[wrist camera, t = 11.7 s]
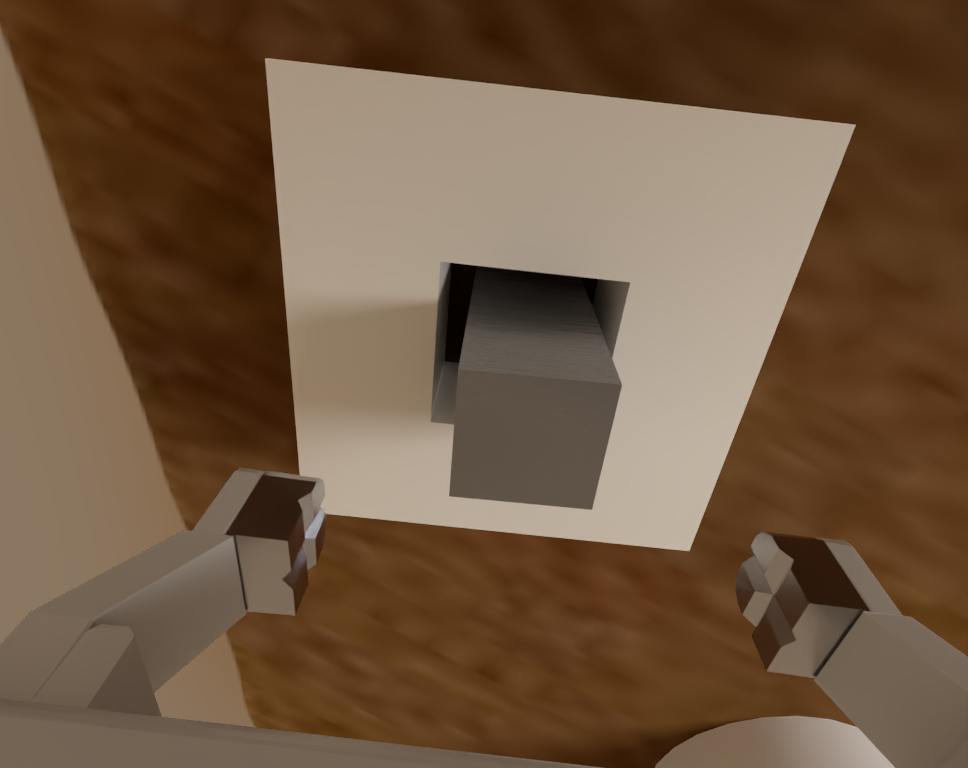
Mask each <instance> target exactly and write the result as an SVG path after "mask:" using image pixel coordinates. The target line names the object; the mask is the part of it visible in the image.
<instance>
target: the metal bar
mask: <svg viewBox="0 0 968 768" xmlns="http://www.w3.org/2000/svg"><path fill="white" fill-rule="evenodd" d="M621 388H622V383H621V380H620V378H619V375H618V373H617V370H616V367H615V365H614V362H613V359H612V357H611V354H610V352H609V349H608V346H607V344H606V341H605V338H604V336H603V333H602V331H601V328H600V325H599V323H598V320H597V317H596V315H595V312H594V309H593V307H592V304H591V302H590V299H589V296H588V294H587V291H586V288H585V286H584V283H583V281H582V278H581V277H576V276H567V275H558V274H549V273H539V272H530V271H521V270H512V269H503V268H493V267H484V266H477V267H476V273H475V278H474V284H473V289H472V295H471V300H470V306H469V312H468V317H467V323H466V328H465V334H464V339H463V345H462V351H461V356H460V362H459V367H458V379H457V392H456V406H455V420H454V434H453V448H452V462H451V476H450V490H449V496H451V497H461V498H472V499H483V500H493V501H504V502H514V503H525V504H536V505H546V506H557V507H567V508H578V509H589V510H592V508H593V504H594V499H595V495H596V491H597V487H598V483H599V479H600V475H601V470H602V466H603V462H604V458H605V454H606V450H607V446H608V441H609V437H610V433H611V429H612V425H613V421H614V417H615V412H616V408H617V404H618V400H619V396H620V392H621Z"/></svg>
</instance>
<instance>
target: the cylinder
mask: <svg viewBox="0 0 968 768" xmlns="http://www.w3.org/2000/svg"><path fill="white" fill-rule="evenodd" d="M655 768H895V767H894V766H893V765H892V764H891V763H890V762H889V761H888V759H887V758H886V757H885V756H884V755H883V754H882V753H881V752H880V751H879V750H878V749H877V748H876V747H875V746H874V744H873V743H872V742H871V741H870V740H869V739H868V738H867V737H866V736H865V735H864V734H863V733H862V732H861V730H860V729H859V728H858V727H855V726H852V725H848V724H845V723H842V722H838V721H835V720H832V719H823V718H814V717H805V716H781V717H761V718H756V719H750V720H745V721H740V722H734V723H729V724H726V725H723V726H720V727H717V728H714V729H711V730H708V731H706V732H703V733H700V734H697V735H695V736H694V737H692V738H690V739H688V740H687V741H685V742H683V743H681V744H680V745H678V746H676V747H674V748H673V749H672V750H671V751H670V752H669V753H667V754H666V755H665V756H664V757H663V758H662V759H661V760H660V761H659V762H658V763H657V764H656V766H655Z"/></svg>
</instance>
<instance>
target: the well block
mask: <svg viewBox="0 0 968 768" xmlns="http://www.w3.org/2000/svg"><path fill="white" fill-rule="evenodd" d="M265 64H266V76H267V88H268V100H269V112H270V124H271V136H272V148H273V160H274V172H275V184H276V196H277V208H278V220H279V232H280V244H281V255H282V267H283V279H284V291H285V303H286V315H287V327H288V339H289V351H290V363H291V375H292V387H293V399H294V411H295V423H296V435H297V447H298V458H299V470H300V476H307V477H314V478H321V479H322V480H323V481H324V489H325V496H324V499H323V501H322V503H321V505H320V507H321V508H322V509H323V510H324V512H325V513H326V514H334V515H344V516H354V517H363V518H373V519H383V520H392V521H402V522H412V523H422V524H431V525H441V526H451V527H460V528H470V529H480V530H490V531H499V532H509V533H519V534H528V535H538V536H548V537H557V538H567V539H577V540H587V541H596V542H606V543H616V544H625V545H635V546H645V547H654V548H664V549H674V550H684V551H689V550H690V548H691V545H692V543H693V540H694V538H695V535H696V532H697V530H698V527H699V525H700V522H701V520H702V517H703V515H704V512H705V509H706V507H707V504H708V502H709V499H710V497H711V494H712V492H713V489H714V486H715V484H716V481H717V479H718V476H719V474H720V471H721V468H722V466H723V463H724V461H725V458H726V456H727V453H728V451H729V448H730V445H731V443H732V440H733V438H734V435H735V433H736V430H737V428H738V425H739V422H740V420H741V417H742V415H743V412H744V410H745V407H746V405H747V402H748V399H749V397H750V394H751V392H752V389H753V387H754V384H755V382H756V379H757V376H758V374H759V371H760V369H761V366H762V364H763V361H764V358H765V356H766V353H767V351H768V348H769V346H770V343H771V341H772V338H773V335H774V333H775V330H776V328H777V325H778V323H779V320H780V318H781V315H782V312H783V310H784V307H785V305H786V302H787V300H788V297H789V295H790V292H791V289H792V287H793V284H794V282H795V279H796V277H797V274H798V272H799V269H800V266H801V264H802V261H803V259H804V256H805V254H806V251H807V249H808V246H809V243H810V241H811V238H812V236H813V233H814V231H815V228H816V225H817V223H818V220H819V218H820V215H821V213H822V210H823V208H824V205H825V202H826V200H827V197H828V195H829V192H830V190H831V187H832V185H833V182H834V179H835V177H836V174H837V172H838V169H839V167H840V164H841V162H842V159H843V156H844V154H845V151H846V149H847V146H848V144H849V141H850V139H851V136H852V133H853V131H854V128H855V126H856V125H853V124H844V123H835V122H827V121H818V120H809V119H800V118H791V117H782V116H774V115H765V114H756V113H747V112H738V111H729V110H721V109H712V108H703V107H694V106H685V105H676V104H667V103H659V102H650V101H641V100H632V99H623V98H614V97H606V96H597V95H588V94H579V93H570V92H561V91H553V90H544V89H535V88H526V87H517V86H508V85H500V84H491V83H482V82H473V81H464V80H455V79H447V78H438V77H429V76H420V75H411V74H402V73H394V72H385V71H376V70H367V69H358V68H349V67H341V66H332V65H323V64H314V63H305V62H296V61H288V60H279V59H270V58H265ZM452 263H457V264H466V265H475V266H484V267H493V268H503V269H512V270H521V271H530V272H539V273H549V274H558V275H567V276H576V277H585V278H594V279H598V281H597V286H596V290H595V295H594V300H593V305H592V307H593V309H594V312H595V315H596V317H597V320H598V323H599V325H600V328H601V331H602V333H603V336H604V338H605V341H606V344H607V346H608V349H609V352H610V354H611V357H612V359H613V362H614V365H615V367H616V370H617V373H618V375H619V378H620V380H621V383H622V388H621V392H620V396H619V400H618V404H617V408H616V412H615V417H614V421H613V425H612V429H611V433H610V437H609V441H608V446H607V450H606V454H605V458H604V462H603V466H602V470H601V475H600V479H599V483H598V487H597V491H596V495H595V499H594V504H593V508H592V510H589V509H578V508H567V507H557V506H546V505H536V504H525V503H514V502H504V501H493V500H483V499H472V498H461V497H451V496H449V490H450V476H451V462H452V448H453V434H454V420H455V406H456V392H457V379H458V367H459V363H455V362H446V361H445V351H446V337H447V323H448V308H449V294H450V280H451V266H452Z"/></svg>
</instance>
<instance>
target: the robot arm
mask: <svg viewBox="0 0 968 768" xmlns="http://www.w3.org/2000/svg"><path fill="white" fill-rule="evenodd" d="M324 496H325V489H324V481H323V480H322V479H321V478H314V477H307V476H300V475H293V474H286V473H279V472H272V471H268V472H267V471H261V470H254V469H248V468H240V469H238V470H236V471H235V472H234V473H233V474H232V475H231V477H230V478H229V480H228V481H227V482H226V484H225V485H224V487H223V488H222V489H221V491H220V492H219V494H218V495H217V496H216V498H215V499H214V501H213V502H212V503H211V505H210V506H209V508H208V509H207V510H206V512H205V513H204V515H203V516H202V517H201V519H200V520H199V522H198V523H197V525H196V526H195V527H194V529H193V530H192V531H186V530H183V531H181V532H179V533H177V534H175V535H173V536H171V537H170V538H168V539H166V540H164V541H162V542H160V543H159V544H157V545H155V546H153V547H151V548H149V549H147V550H145V551H143V552H142V553H140V554H138V555H136V556H134V557H132V558H130V559H128V560H127V561H125V562H123V563H121V564H119V565H117V566H115V567H113V568H112V569H110V570H108V571H106V572H104V573H102V574H100V575H99V576H97V577H95V578H93V579H91V580H89V581H87V582H85V583H83V584H82V585H80V586H78V587H76V588H74V589H72V590H70V591H68V592H67V593H65V594H63V595H61V596H59V597H57V598H55V599H53V600H52V601H50V602H48V603H46V604H44V605H42V606H41V607H38V608H37V609H35V610H33V611H31V612H29V613H28V615H27V616H26V617H25V618H24V619H23V620H22V621H21V622H20V623H19V624H18V626H17V627H16V628H15V629H14V630H13V631H12V632H11V633H10V634H9V635H8V637H7V638H6V639H5V640H4V641H3V642H2V643H1V644H0V768H603V767H594V766H585V765H576V764H568V763H559V762H550V761H541V760H533V759H524V758H515V757H506V756H498V755H489V754H480V753H471V752H463V751H454V750H445V749H436V748H428V747H419V746H410V745H402V744H393V743H384V742H376V741H367V740H358V739H350V738H341V737H332V736H324V735H315V734H306V733H298V732H289V731H280V730H272V729H263V728H254V727H246V726H237V725H228V724H219V723H211V722H202V721H193V720H184V719H176V718H167V717H162V716H161V713H160V710H159V708H158V704H157V701H156V698H155V696H154V692H155V691H156V690H158V689H159V688H160V687H161V686H162V685H163V684H164V683H166V682H167V681H168V680H169V679H170V678H172V677H173V676H174V675H175V674H176V673H177V672H178V671H180V670H181V669H182V668H183V667H184V666H186V665H187V664H188V663H189V662H190V661H192V660H193V659H194V658H195V657H196V656H197V655H199V654H200V653H201V652H202V651H203V650H204V649H206V648H207V647H208V646H209V645H210V644H212V643H213V642H214V641H215V640H216V639H217V638H219V637H220V636H221V635H222V634H223V633H224V632H226V631H227V630H228V629H229V628H230V627H231V626H233V625H234V624H235V623H236V622H237V621H239V620H240V619H241V618H242V617H243V616H244V615H246V611H250V612H261V613H273V614H284V615H296V612H297V610H298V608H299V605H300V603H301V600H302V598H303V595H304V593H305V591H306V588H307V586H308V572H307V570H308V569H310V568H311V567H313V566H314V565H315V564H317V561H318V558H319V556H320V553H321V550H322V546H323V542H324V538H325V531H326V513H325V512H324V510H323V509H322V508H321V507H320V505H321V503H322V501H323V499H324ZM751 548H752V551H753V553H754V555H755V556H753V557H752V558H750V559H748V560H747V561H745V562H743V563H742V565H741V567H740V569H739V571H738V574H737V576H736V590H735V591H736V596H737V601H738V604H739V607H740V609H741V612H742V614H743V615H744V616H745V617H746V618H747V619H748V620H749V621H750V622H751V623H752V624H753V625H754V626H755V629H754V632H753V634H752V638H753V641H754V643H755V645H756V648H757V650H758V652H759V655H760V657H761V660H762V662H763V664H764V667H765V669H766V671H770V672H777V673H783V674H790V675H797V676H804V677H811V678H815V679H814V681H815V682H816V683H817V684H818V685H819V686H820V687H821V689H822V690H823V691H824V692H825V693H826V694H827V695H828V696H829V697H830V698H831V699H832V700H833V701H834V703H835V704H836V705H837V706H838V707H839V708H840V709H841V710H842V711H843V712H844V713H845V714H846V715H847V716H848V718H849V719H850V720H851V721H852V722H853V723H854V724H855V725H856V726H857V727H858V728H859V729H860V730H861V732H862V733H863V734H864V735H865V736H866V737H867V738H868V739H869V740H870V741H871V742H872V743H873V744H874V746H875V747H876V748H877V749H878V750H879V751H880V752H881V753H882V754H883V755H884V756H885V757H886V758H887V759H888V761H889V762H890V763H891V764H892V765H893V766H894V767H895V768H968V657H967V656H966V655H964V654H963V653H962V652H960V651H959V650H957V649H956V648H954V647H953V646H952V645H950V644H949V643H947V642H946V641H945V640H943V639H942V638H940V637H939V636H938V635H936V634H935V633H933V632H932V631H931V630H929V629H928V628H926V627H925V626H924V625H922V624H921V623H919V622H918V621H917V620H915V619H914V618H912V617H907V616H903V615H902V614H901V613H900V611H899V610H898V608H897V607H896V606H895V604H894V603H893V601H892V600H891V599H890V597H889V596H888V594H887V593H886V592H885V590H884V589H883V588H882V586H881V585H880V583H879V582H878V581H877V579H876V578H875V576H874V575H873V574H872V572H871V571H870V569H869V568H868V567H867V565H866V564H865V562H864V561H863V560H862V558H861V557H860V555H859V554H858V553H857V551H856V550H855V548H854V547H853V546H852V545H851V544H849V543H848V542H846V541H845V540H835V539H826V538H812V537H804V536H795V535H786V534H777V533H769V532H761V533H760V534H759V535H758V536H756V537H755V539H754V541H753V543H752V545H751Z"/></svg>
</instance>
